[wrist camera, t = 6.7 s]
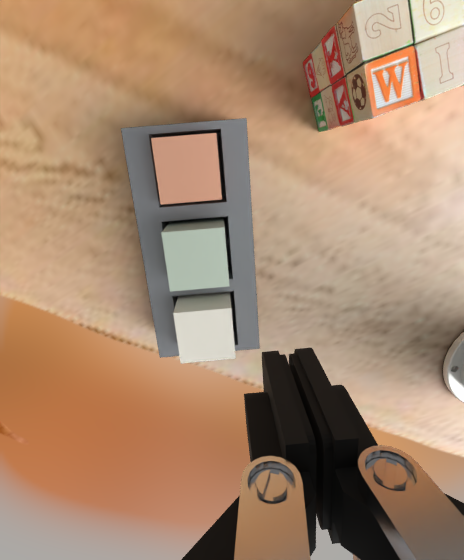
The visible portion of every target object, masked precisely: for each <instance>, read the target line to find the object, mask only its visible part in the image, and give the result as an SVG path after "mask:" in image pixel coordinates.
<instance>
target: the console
mask: <svg viewBox="0 0 464 560" xmlns="http://www.w3.org/2000/svg"><path fill="white" fill-rule="evenodd" d="M121 132H122V138H123V144H124V149H125V155H126V161H127V167H128V173H129V179H130V185H131V191H132V197H133V202H134V208H135V214H136V220H137V226H138V232H139V238H140V244H141V249H142V255H143V261H144V267H145V273H146V279H147V285H148V291H149V296H150V302H151V308H152V314H153V320H154V326H155V332H156V338H157V344H158V349H159V355H160V357H171V356H179V349H178V342H177V335H176V329H175V322H174V315H173V312H174V309H175V305H176V302H177V298H178V296H182V295H193V294H204V293H216V292H227V291H230V300H231V309H232V321H233V333H234V345H235V351H237V350H248V349H259V348H260V347H259V329H258V312H257V294H256V277H255V259H254V242H253V224H252V207H251V189H250V172H249V155H248V137H247V120H246V118H244V119H231V120H219V121H206V122H194V123H181V124H169V125H156V126H143V127H131V128H121ZM208 133H216V134H217V146H218V158H219V170H220V182H221V193H222V199H221V200H209V201H197V202H185V203H173V204H160V197H159V190H158V183H157V176H156V169H155V162H154V155H153V148H152V141H151V138H158V137H171V136H183V135H196V134H208ZM213 218H223V219H224V227H225V239H226V250H227V262H228V274H229V286H228V287H216V288H205V289H194V290H182V291H171V292H170V288H169V281H168V274H167V268H166V261H165V254H164V247H163V241H162V234H161V232H162V231H163V230H164V229H165V227H166V226H167V225H168V224H169V222H177V221H189V220H201V219H213Z"/></svg>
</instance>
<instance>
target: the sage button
mask: <svg viewBox="0 0 464 560" xmlns="http://www.w3.org/2000/svg"><path fill="white" fill-rule="evenodd" d="M161 234H162V241H163V247H164V254H165V261H166V268H167V274H168V281H169V288H170V292H171V291H182V290H194V289H205V288H216V287H228V286H229V274H228V262H227V250H226V239H225V227H224V219H223V218H213V219H201V220H189V221H177V222H169V224H168V225H167V226H166V227H165V229H164V230H163V231H162V232H161Z"/></svg>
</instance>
